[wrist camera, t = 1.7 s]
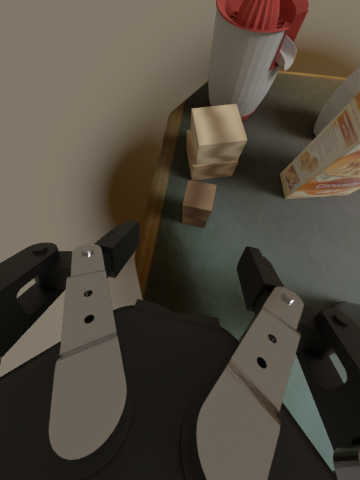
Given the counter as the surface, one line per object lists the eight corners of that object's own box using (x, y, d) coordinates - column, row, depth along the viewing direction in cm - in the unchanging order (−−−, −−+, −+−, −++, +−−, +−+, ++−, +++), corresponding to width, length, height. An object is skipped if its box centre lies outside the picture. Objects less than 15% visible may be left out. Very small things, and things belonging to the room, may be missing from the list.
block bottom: (223, 144, 40) (229, 125, 35) (231, 176, 37) (238, 161, 33) (186, 148, 40) (186, 130, 35) (191, 181, 37) (192, 167, 32)
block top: (228, 127, 35) (236, 103, 30) (237, 160, 33) (247, 140, 28) (190, 132, 35) (191, 108, 30) (196, 165, 32) (199, 145, 28)
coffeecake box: (284, 199, 35) (403, 111, 16) (278, 173, 37) (379, 66, 18) (348, 196, 35) (540, 103, 16) (339, 170, 37) (503, 59, 18)
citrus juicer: (242, 144, 39) (300, 14, 20) (191, 110, 42) (199, -32, 23) (275, 109, 42) (356, -36, 22) (225, 79, 45) (259, -71, 25)
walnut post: (207, 207, 35) (216, 185, 26) (204, 227, 34) (211, 210, 25) (187, 203, 35) (188, 179, 27) (182, 223, 34) (182, 205, 26)
